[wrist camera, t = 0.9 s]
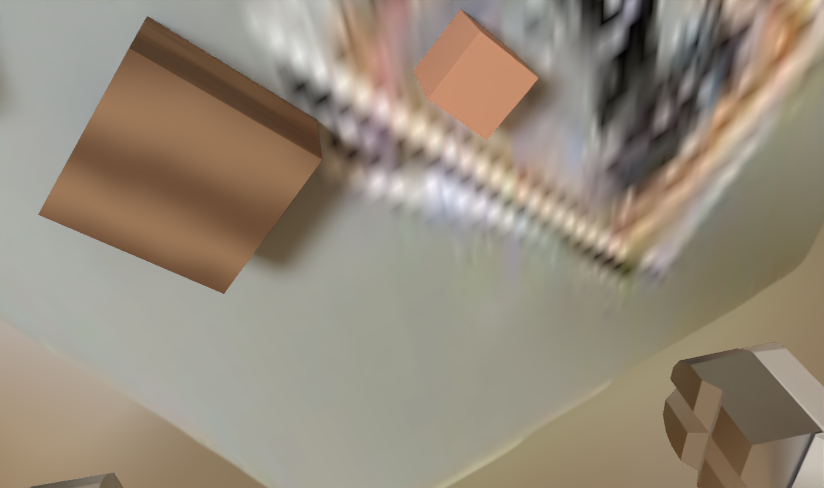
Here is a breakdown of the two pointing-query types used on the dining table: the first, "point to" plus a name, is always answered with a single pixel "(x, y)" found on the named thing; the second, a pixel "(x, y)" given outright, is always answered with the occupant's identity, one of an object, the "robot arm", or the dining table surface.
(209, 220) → the walnut block
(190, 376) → the dining table surface
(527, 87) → the terracotta block
